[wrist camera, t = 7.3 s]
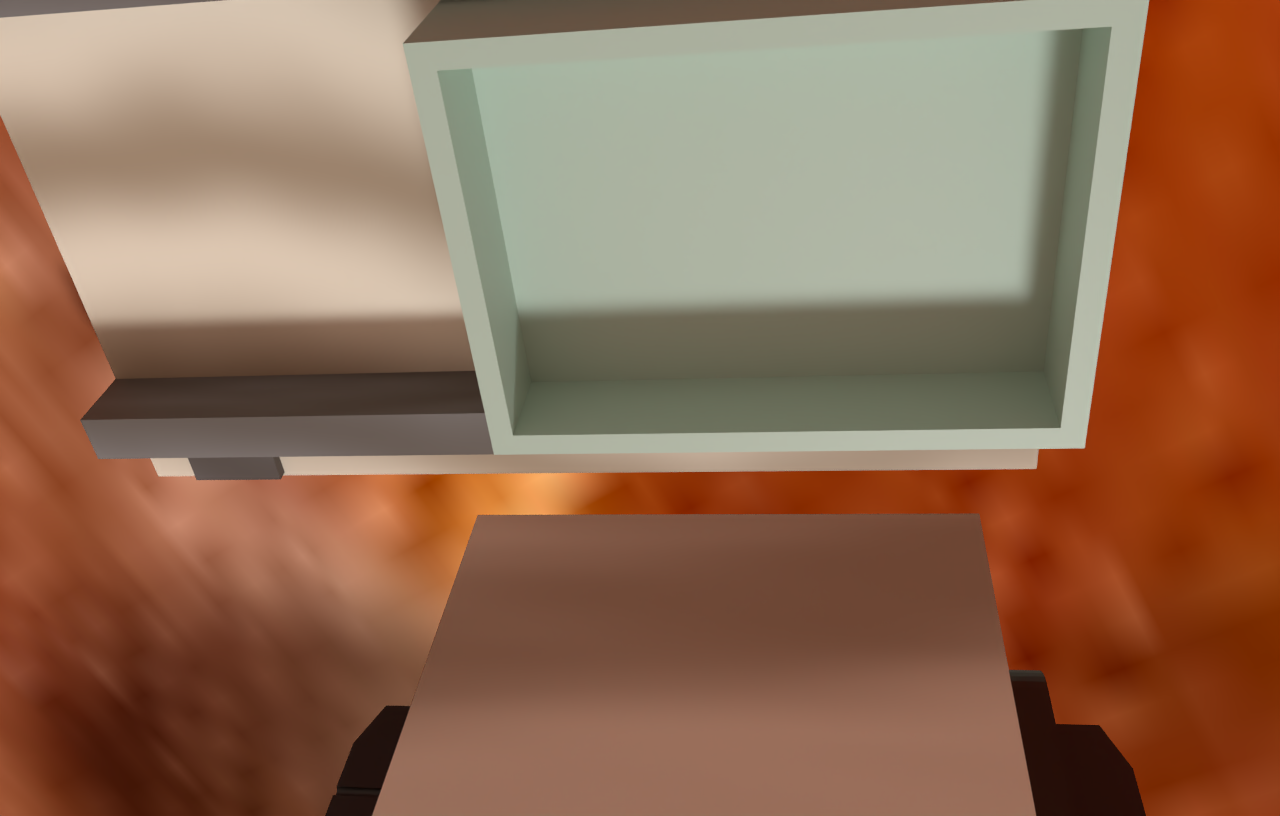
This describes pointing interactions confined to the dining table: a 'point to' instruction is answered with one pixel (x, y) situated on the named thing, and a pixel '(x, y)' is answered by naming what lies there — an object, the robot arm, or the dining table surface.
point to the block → (715, 672)
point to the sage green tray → (780, 217)
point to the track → (276, 244)
